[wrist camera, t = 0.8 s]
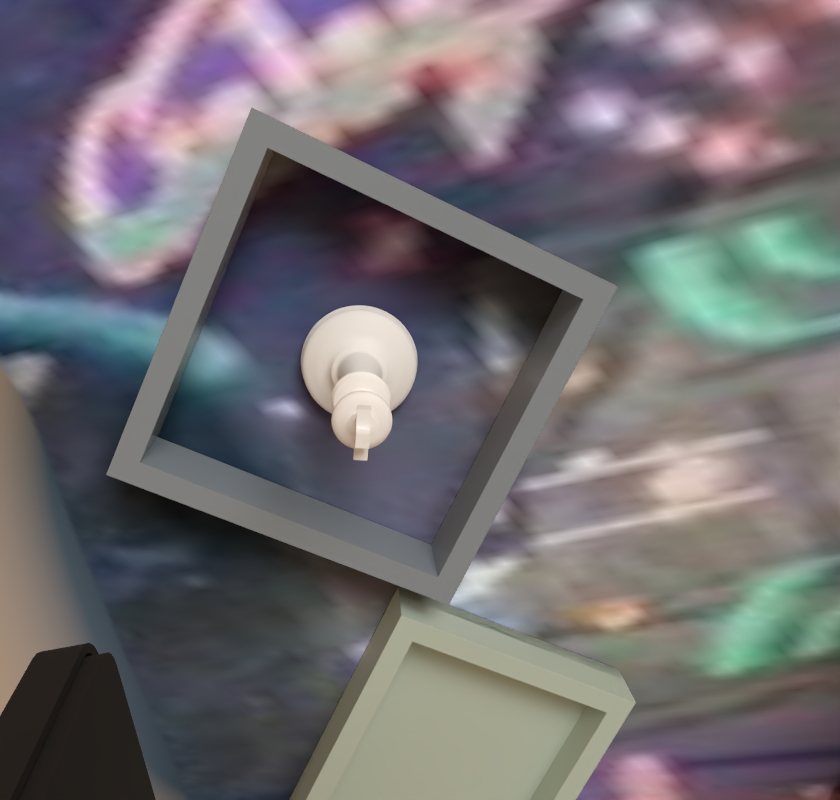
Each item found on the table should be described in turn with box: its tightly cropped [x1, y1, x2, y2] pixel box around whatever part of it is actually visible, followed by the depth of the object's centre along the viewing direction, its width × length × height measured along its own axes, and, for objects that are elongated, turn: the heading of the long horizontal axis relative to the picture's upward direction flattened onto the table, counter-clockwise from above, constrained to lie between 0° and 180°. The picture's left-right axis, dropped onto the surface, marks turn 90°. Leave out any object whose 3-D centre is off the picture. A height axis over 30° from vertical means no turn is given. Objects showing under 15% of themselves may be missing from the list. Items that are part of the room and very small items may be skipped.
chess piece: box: [301, 305, 417, 461], centre depth 29 cm, size 5×5×10 cm
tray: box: [289, 586, 636, 800], centre depth 39 cm, size 12×16×2 cm
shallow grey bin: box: [106, 108, 618, 605], centre depth 32 cm, size 15×15×3 cm
